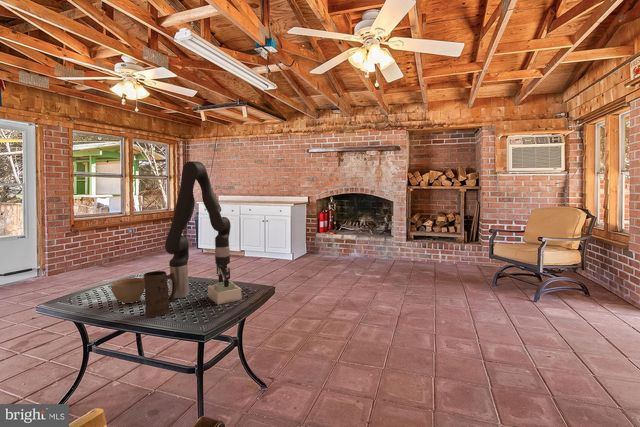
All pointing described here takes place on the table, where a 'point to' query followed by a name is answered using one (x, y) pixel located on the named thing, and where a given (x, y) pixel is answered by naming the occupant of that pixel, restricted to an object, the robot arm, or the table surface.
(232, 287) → the small crate
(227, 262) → the robot arm
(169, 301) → the beer stein
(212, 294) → the big crate
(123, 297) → the planter bowl
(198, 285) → the table surface
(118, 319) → the table surface
